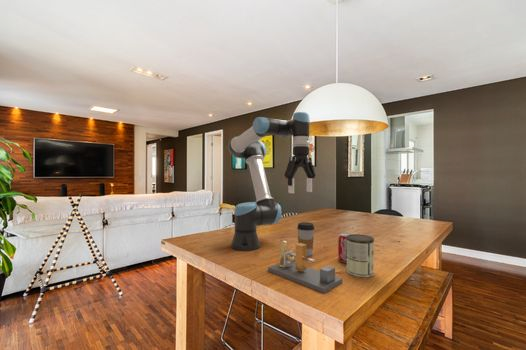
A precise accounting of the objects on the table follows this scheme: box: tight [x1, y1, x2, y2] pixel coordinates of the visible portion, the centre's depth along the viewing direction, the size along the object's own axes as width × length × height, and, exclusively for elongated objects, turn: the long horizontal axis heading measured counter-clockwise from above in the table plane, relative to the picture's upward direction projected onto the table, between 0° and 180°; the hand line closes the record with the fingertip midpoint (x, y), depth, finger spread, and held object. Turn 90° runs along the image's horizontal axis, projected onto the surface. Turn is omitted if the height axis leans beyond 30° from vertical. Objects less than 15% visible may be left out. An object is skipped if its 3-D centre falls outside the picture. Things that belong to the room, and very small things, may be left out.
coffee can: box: [346, 233, 375, 278], centre depth 100 cm, size 10×10×14 cm
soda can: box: [337, 232, 352, 264], centre depth 113 cm, size 7×7×12 cm
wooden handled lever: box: [284, 243, 316, 272], centre depth 97 cm, size 13×5×10 cm, turn 44°
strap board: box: [267, 260, 343, 294], centre depth 96 cm, size 26×12×2 cm, turn 44°
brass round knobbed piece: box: [277, 239, 295, 268], centre depth 102 cm, size 8×5×10 cm, turn 44°
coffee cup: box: [297, 222, 315, 258], centre depth 122 cm, size 8×8×15 cm
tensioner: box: [319, 265, 336, 284], centre depth 88 cm, size 3×5×4 cm, turn 134°
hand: (300, 192), depth 116 cm, fingers open, 13 cm apart
